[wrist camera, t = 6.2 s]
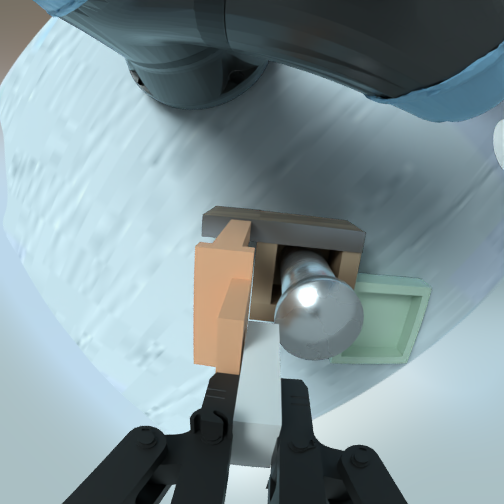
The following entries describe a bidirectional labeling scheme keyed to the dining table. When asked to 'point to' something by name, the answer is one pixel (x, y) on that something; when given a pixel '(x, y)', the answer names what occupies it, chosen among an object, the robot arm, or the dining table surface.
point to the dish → (387, 319)
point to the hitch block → (289, 233)
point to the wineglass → (499, 142)
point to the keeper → (223, 297)
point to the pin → (315, 306)
